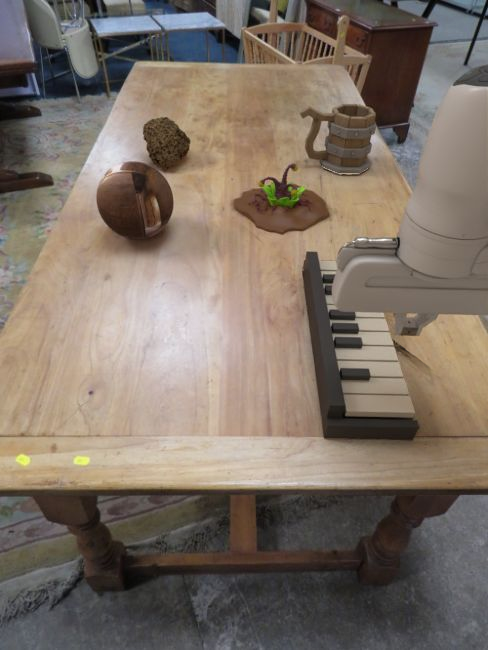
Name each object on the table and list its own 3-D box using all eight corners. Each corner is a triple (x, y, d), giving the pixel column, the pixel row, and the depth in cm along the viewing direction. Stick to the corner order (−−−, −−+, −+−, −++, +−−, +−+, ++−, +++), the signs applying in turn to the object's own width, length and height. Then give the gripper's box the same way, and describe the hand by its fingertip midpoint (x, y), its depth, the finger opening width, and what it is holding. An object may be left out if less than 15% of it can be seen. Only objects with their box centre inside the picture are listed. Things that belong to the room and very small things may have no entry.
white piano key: (407, 400, 59) (410, 395, 58) (412, 417, 57) (415, 412, 57) (341, 399, 59) (343, 394, 58) (344, 416, 57) (346, 411, 57)
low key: (366, 266, 81) (367, 261, 80) (369, 275, 79) (370, 270, 78) (318, 265, 81) (318, 260, 80) (319, 274, 79) (320, 269, 78)
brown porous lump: (156, 177, 113) (124, 128, 112) (188, 172, 123) (159, 127, 123) (181, 147, 105) (147, 95, 105) (212, 145, 116) (181, 97, 115)
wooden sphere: (104, 219, 96) (88, 152, 86) (171, 211, 99) (164, 145, 89) (106, 258, 86) (88, 187, 76) (181, 248, 89) (174, 179, 78)
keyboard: (364, 274, 84) (371, 248, 80) (412, 440, 58) (426, 415, 54) (302, 273, 84) (305, 247, 80) (323, 438, 58) (330, 413, 54)
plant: (344, 222, 97) (354, 174, 89) (272, 248, 90) (276, 198, 82) (290, 185, 109) (295, 140, 101) (223, 205, 101) (222, 158, 94)
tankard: (361, 155, 122) (374, 97, 112) (372, 175, 114) (387, 115, 103) (291, 154, 122) (297, 96, 111) (296, 175, 113) (303, 114, 102)
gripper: (345, 255, 43) (325, 348, 53) (553, 260, 43) (495, 353, 53) (337, 221, 48) (320, 313, 57) (525, 225, 47) (476, 317, 57)
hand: (405, 332), depth 55 cm, fingers closed
